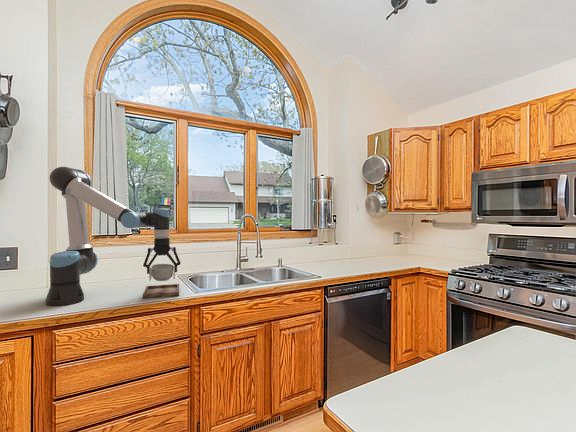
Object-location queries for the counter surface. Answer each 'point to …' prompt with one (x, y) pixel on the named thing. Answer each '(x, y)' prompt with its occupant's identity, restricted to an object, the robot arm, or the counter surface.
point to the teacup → (161, 272)
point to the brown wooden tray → (161, 291)
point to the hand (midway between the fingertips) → (162, 279)
